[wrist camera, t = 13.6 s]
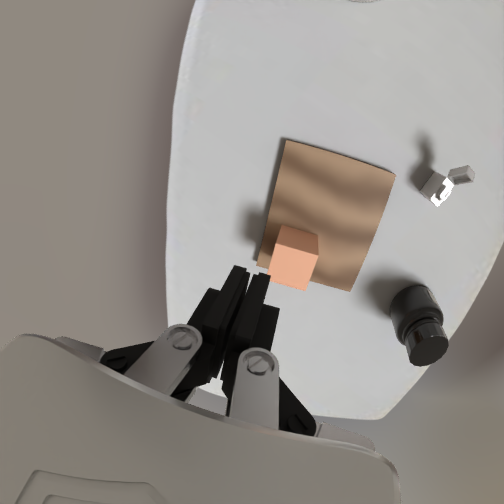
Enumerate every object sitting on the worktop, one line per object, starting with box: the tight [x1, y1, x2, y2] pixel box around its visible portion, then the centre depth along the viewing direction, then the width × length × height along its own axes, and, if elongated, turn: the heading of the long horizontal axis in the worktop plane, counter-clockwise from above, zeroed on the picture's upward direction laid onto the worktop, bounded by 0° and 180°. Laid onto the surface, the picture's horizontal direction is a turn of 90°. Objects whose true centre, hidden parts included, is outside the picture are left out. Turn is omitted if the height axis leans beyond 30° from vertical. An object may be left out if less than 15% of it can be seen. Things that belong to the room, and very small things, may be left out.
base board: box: [256, 140, 396, 292], centre depth 39 cm, size 20×16×1 cm
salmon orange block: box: [267, 225, 319, 291], centre depth 38 cm, size 6×6×7 cm
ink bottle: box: [390, 286, 448, 367], centre depth 37 cm, size 10×9×12 cm
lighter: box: [420, 165, 475, 206], centre depth 29 cm, size 7×2×8 cm, turn 149°
